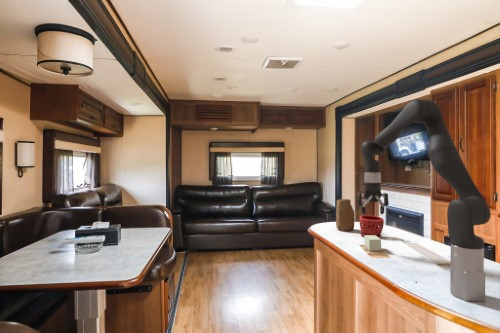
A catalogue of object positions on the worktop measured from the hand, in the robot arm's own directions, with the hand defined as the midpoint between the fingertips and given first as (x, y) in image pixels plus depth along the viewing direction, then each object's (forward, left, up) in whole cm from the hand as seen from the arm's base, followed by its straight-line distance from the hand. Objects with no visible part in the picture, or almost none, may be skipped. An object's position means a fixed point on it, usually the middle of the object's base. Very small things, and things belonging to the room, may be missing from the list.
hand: (372, 214), depth 148 cm
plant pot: (+28, -8, -20) cm, 35 cm away
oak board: (-2, 0, -19) cm, 19 cm away
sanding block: (0, 0, -18) cm, 18 cm away
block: (+46, +3, -19) cm, 50 cm away
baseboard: (-1, -23, -20) cm, 31 cm away
